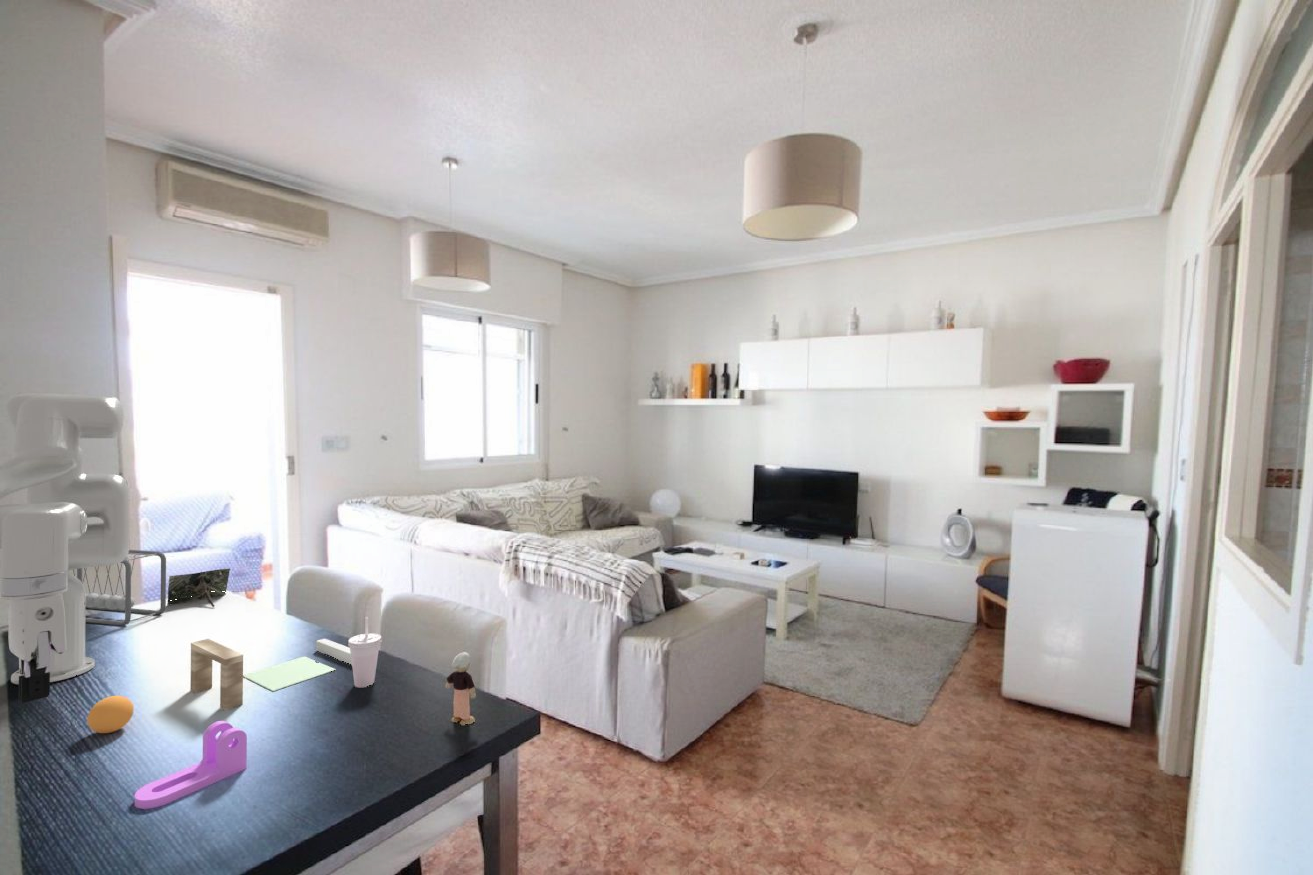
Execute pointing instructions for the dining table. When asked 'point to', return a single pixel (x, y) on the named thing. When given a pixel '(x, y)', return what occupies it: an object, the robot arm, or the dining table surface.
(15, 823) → the dining table surface
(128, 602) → the newton's cradle
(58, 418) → the robot arm
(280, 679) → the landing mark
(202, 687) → the bridge
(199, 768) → the bracket
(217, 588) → the dark piece
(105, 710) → the ball
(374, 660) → the smoothie
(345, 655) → the wall
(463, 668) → the grandmother figurine
